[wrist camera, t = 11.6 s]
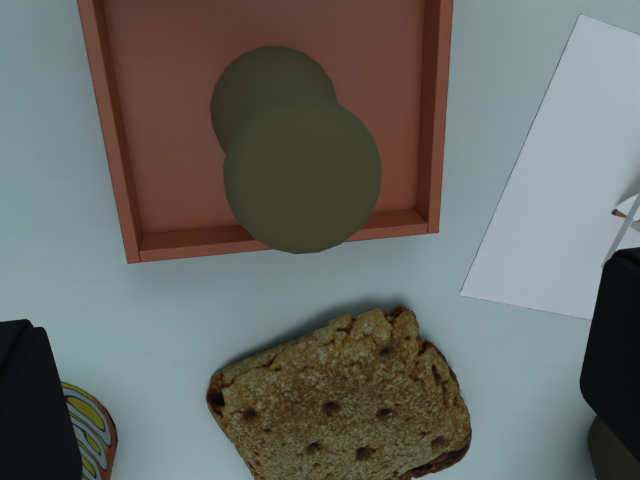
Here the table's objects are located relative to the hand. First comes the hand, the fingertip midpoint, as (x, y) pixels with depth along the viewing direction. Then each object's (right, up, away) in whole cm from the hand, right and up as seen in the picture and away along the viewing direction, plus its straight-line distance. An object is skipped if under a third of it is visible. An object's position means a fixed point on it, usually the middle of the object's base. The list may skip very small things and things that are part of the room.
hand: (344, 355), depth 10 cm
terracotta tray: (-2, +8, +18) cm, 20 cm away
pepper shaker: (-2, +8, +18) cm, 20 cm away
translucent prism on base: (+16, +5, +24) cm, 29 cm away
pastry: (+1, -9, +27) cm, 28 cm away
